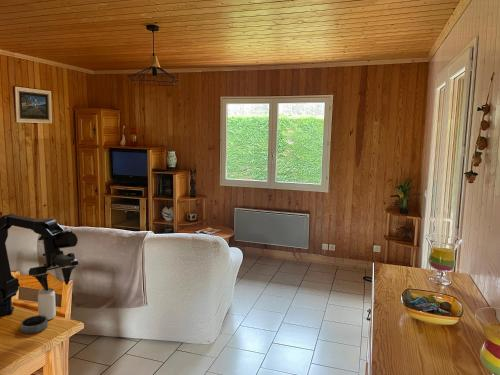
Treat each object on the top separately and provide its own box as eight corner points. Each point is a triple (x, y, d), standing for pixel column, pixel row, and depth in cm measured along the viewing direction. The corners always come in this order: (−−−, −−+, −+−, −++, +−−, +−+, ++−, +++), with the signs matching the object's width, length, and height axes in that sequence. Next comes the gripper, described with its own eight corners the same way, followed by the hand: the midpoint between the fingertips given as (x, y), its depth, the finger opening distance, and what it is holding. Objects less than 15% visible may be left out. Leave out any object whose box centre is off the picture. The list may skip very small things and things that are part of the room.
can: (48, 322, 156) (47, 295, 154) (35, 319, 157) (33, 293, 156) (59, 314, 162) (58, 288, 161) (46, 312, 164) (45, 286, 162)
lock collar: (22, 324, 153) (22, 317, 153) (48, 320, 157) (48, 314, 157) (19, 335, 145) (19, 328, 145) (46, 331, 149) (46, 324, 148)
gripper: (44, 252, 141) (49, 293, 140) (84, 244, 158) (89, 280, 157) (25, 254, 146) (30, 294, 145) (67, 246, 162) (71, 282, 162)
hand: (57, 287), depth 152 cm, fingers open, 9 cm apart
